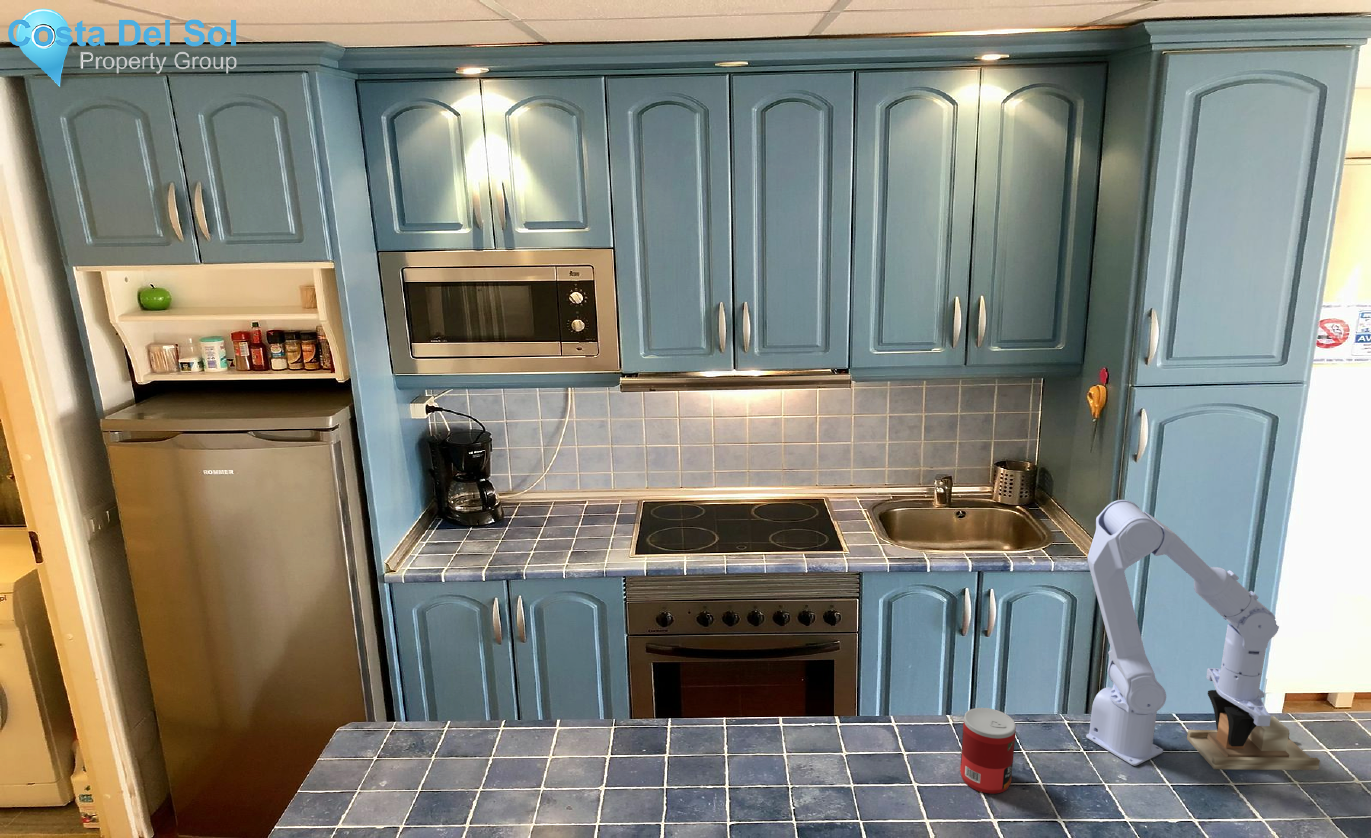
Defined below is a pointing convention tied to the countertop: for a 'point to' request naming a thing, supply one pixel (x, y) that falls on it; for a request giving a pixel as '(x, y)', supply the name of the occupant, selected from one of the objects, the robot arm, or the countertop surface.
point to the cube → (1270, 736)
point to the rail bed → (1219, 761)
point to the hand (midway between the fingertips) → (1230, 739)
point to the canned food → (987, 750)
